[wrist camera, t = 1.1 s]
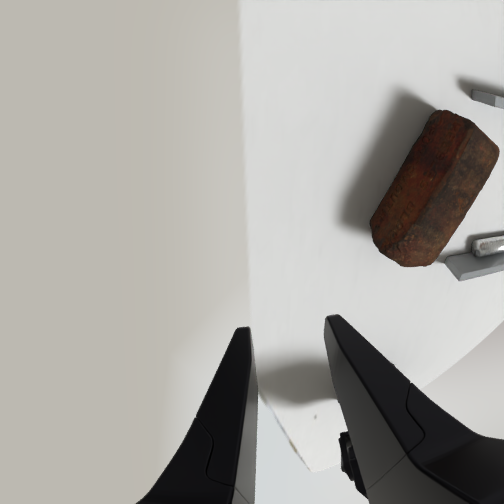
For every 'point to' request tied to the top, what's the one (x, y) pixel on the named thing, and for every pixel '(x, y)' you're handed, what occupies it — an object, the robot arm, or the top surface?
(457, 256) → the wall
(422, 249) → the brick
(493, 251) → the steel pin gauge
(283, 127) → the top surface
